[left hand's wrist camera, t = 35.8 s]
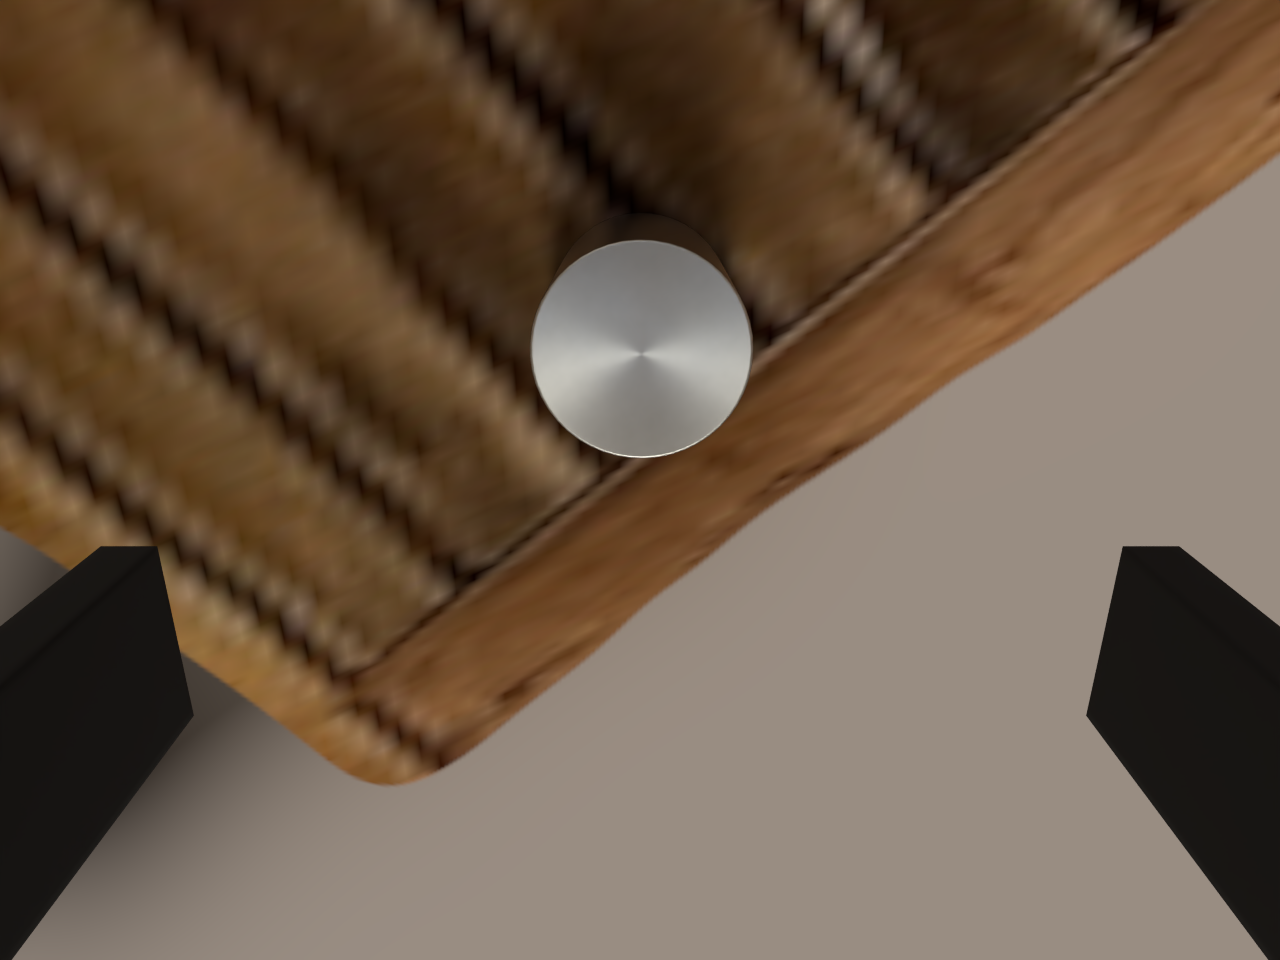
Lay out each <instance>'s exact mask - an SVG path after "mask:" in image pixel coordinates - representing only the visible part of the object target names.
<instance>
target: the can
mask: <svg viewBox="0 0 1280 960" xmlns="http://www.w3.org/2000/svg"><path fill="white" fill-rule="evenodd" d="M530 359H531V367H532V372H533V376H534V379H535V383H536V386H537V388H538V390H539V393H540V395H541V397H542V399H543V401H544V403H545V404H546V406H547V408H548V409H549V411H550V412H551V413H552V414H553V416H554V417H555V418H556V420H557V421H558V422H559V423H560V424H561V425H562V426H563V427H564V428H565V429H566V430H567V431H569V432H570V433H571V434H572V435H574V436H575V437H576V438H578V439H579V440H581V441H583V442H584V443H586V444H588V445H589V446H591V447H594V448H596V449H598V450H601V451H603V452H606V453H610V454H613V455H617V456H623V457H630V458H652V457H660V456H665V455H670V454H673V453H676V452H679V451H682V450H685V449H687V448H689V447H691V446H693V445H695V444H697V443H699V442H700V441H702V440H703V439H705V438H707V437H708V436H710V435H711V434H712V433H713V432H714V431H715V430H717V429H718V428H719V427H720V426H721V425H722V424H723V423H724V422H725V421H726V419H727V418H728V417H729V416H730V415H731V413H732V412H733V410H734V409H735V408H736V406H737V405H738V403H739V401H740V399H741V397H742V395H743V393H744V391H745V388H746V385H747V383H748V380H749V376H750V372H751V367H752V360H753V336H752V330H751V325H750V320H749V317H748V314H747V311H746V308H745V306H744V304H743V302H742V300H741V298H740V296H739V294H738V292H737V290H736V288H735V287H734V285H733V283H732V281H731V280H730V278H729V276H728V274H727V272H726V271H725V269H724V267H723V265H722V263H721V262H720V260H719V258H718V256H717V255H716V253H715V252H714V250H713V249H712V247H711V246H710V245H709V244H708V243H707V242H706V241H705V239H704V238H702V237H701V236H700V235H699V234H698V233H697V232H696V231H694V230H693V229H691V228H690V227H688V226H687V225H685V224H683V223H681V222H679V221H677V220H675V219H672V218H669V217H666V216H663V215H657V214H652V213H632V214H625V215H621V216H616V217H613V218H611V219H608V220H605V221H603V222H601V223H600V224H598V225H596V226H594V227H593V228H591V229H590V230H588V231H587V232H586V233H584V234H583V235H582V236H581V237H580V238H579V239H578V240H577V241H576V242H575V243H574V245H573V246H572V247H571V248H570V250H569V251H568V252H567V254H566V256H565V257H564V259H563V261H562V263H561V265H560V266H559V268H558V270H557V272H556V274H555V276H554V277H553V279H552V281H551V283H550V285H549V287H548V289H547V290H546V292H545V294H544V296H543V298H542V300H541V302H540V304H539V307H538V309H537V312H536V314H535V318H534V321H533V325H532V330H531V338H530Z"/></svg>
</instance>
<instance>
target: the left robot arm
mask: <svg viewBox="0 0 1280 960" xmlns="http://www.w3.org/2000/svg"><path fill="white" fill-rule="evenodd" d="M193 716H194V715H193V710H192V705H191V701H190V696H189V691H188V687H187V682H186V678H185V673H184V668H183V664H182V659H181V654H180V650H179V645H178V641H177V636H176V631H175V627H174V622H173V617H172V613H171V608H170V604H169V599H168V594H167V590H166V585H165V580H164V576H163V571H162V566H161V562H160V557H159V553H158V548H157V546H101V547H99V548H98V549H97V550H96V551H94V552H93V553H92V554H91V555H89V556H88V557H87V558H86V559H84V560H83V561H82V562H81V563H79V564H78V565H77V566H76V567H74V568H73V569H72V570H71V571H69V572H68V573H67V574H66V575H64V576H63V577H62V578H61V579H59V580H58V581H57V582H55V583H54V584H53V585H52V586H51V587H49V588H48V589H47V590H45V591H44V592H43V593H42V594H40V595H39V596H38V597H37V598H35V599H34V600H33V601H32V602H30V603H29V604H28V605H27V606H25V607H24V608H23V609H22V610H20V611H19V612H18V613H17V614H15V615H14V616H13V617H12V618H10V619H9V620H8V621H6V622H5V623H4V624H3V625H2V626H0V960H12V959H13V957H14V956H15V955H16V953H17V952H18V951H19V949H20V948H21V947H22V945H23V944H24V943H25V941H26V940H27V938H28V937H29V936H30V934H31V933H32V932H33V930H34V929H35V928H36V926H37V925H38V924H39V922H40V921H41V920H42V918H43V917H44V916H45V914H46V913H47V912H48V910H49V909H50V908H51V906H52V905H53V904H54V902H55V901H56V900H57V898H58V897H59V896H60V894H61V893H62V892H63V890H64V889H65V888H66V886H67V885H68V884H69V882H70V881H71V880H72V878H73V877H74V876H75V874H76V873H77V871H78V870H79V869H80V867H81V866H82V865H83V863H84V862H85V861H86V859H87V858H88V857H89V855H90V854H91V853H92V851H93V850H94V849H95V847H96V846H97V845H98V843H99V842H100V841H101V839H102V838H103V837H104V835H105V834H106V833H107V831H108V830H109V829H110V827H111V826H112V825H113V823H114V822H115V821H116V819H117V818H118V817H119V815H120V814H121V812H122V811H123V810H124V808H125V807H126V806H127V804H128V803H129V802H130V800H131V799H132V798H133V796H134V795H135V794H136V792H137V791H138V790H139V788H140V787H141V786H142V784H143V783H144V782H145V780H146V779H147V778H148V776H149V775H150V774H151V772H152V771H153V770H154V768H155V767H156V765H157V764H158V763H159V761H160V760H161V759H162V757H163V756H164V755H165V753H166V752H167V751H168V749H169V748H170V747H171V745H172V744H173V743H174V741H175V740H176V739H177V737H178V736H179V735H180V733H181V732H182V731H183V729H184V728H185V727H186V725H187V724H188V723H189V721H190V720H191V719H192V717H193ZM1086 716H1087V717H1088V718H1089V720H1090V721H1091V723H1092V724H1093V725H1094V727H1095V728H1096V729H1097V731H1098V732H1099V733H1100V735H1101V736H1102V737H1103V739H1104V740H1105V741H1106V743H1107V744H1108V745H1109V747H1110V748H1111V749H1112V751H1113V752H1114V753H1115V755H1116V756H1117V757H1118V759H1119V760H1120V761H1121V763H1122V764H1123V766H1124V767H1125V768H1126V770H1127V771H1128V772H1129V774H1130V775H1131V776H1132V778H1133V779H1134V780H1135V782H1136V783H1137V784H1138V786H1139V787H1140V788H1141V790H1142V791H1143V792H1144V794H1145V795H1146V796H1147V798H1148V799H1149V800H1150V802H1151V803H1152V804H1153V806H1154V807H1155V808H1156V810H1157V811H1158V812H1159V814H1160V815H1161V816H1162V818H1163V819H1164V821H1165V822H1166V823H1167V825H1168V826H1169V827H1170V829H1171V830H1172V831H1173V833H1174V834H1175V835H1176V837H1177V838H1178V839H1179V841H1180V842H1181V843H1182V845H1183V846H1184V847H1185V849H1186V850H1187V851H1188V853H1189V854H1190V855H1191V857H1192V858H1193V859H1194V861H1195V862H1196V863H1197V865H1198V866H1199V867H1200V869H1201V870H1202V871H1203V873H1204V874H1205V876H1206V877H1207V878H1208V880H1209V881H1210V882H1211V884H1212V885H1213V886H1214V888H1215V889H1216V890H1217V892H1218V893H1219V894H1220V896H1221V897H1222V898H1223V900H1224V901H1225V902H1226V904H1227V905H1228V906H1229V908H1230V909H1231V910H1232V912H1233V913H1234V914H1235V916H1236V917H1237V918H1238V920H1239V921H1240V922H1241V924H1242V925H1243V926H1244V928H1245V929H1246V930H1247V932H1248V933H1249V934H1250V936H1251V937H1252V939H1253V940H1254V941H1255V943H1256V944H1257V945H1258V947H1259V948H1260V949H1261V951H1262V952H1263V953H1264V955H1265V956H1266V957H1267V959H1268V960H1280V626H1279V625H1277V624H1276V623H1275V622H1273V621H1272V620H1271V619H1270V618H1269V617H1267V616H1266V615H1265V614H1263V613H1262V612H1261V611H1260V610H1258V609H1257V608H1256V607H1255V606H1253V605H1252V604H1251V603H1250V602H1248V601H1247V600H1246V599H1245V598H1243V597H1242V596H1241V595H1239V594H1238V593H1237V592H1236V591H1235V590H1233V589H1232V588H1231V587H1230V586H1228V585H1227V584H1226V583H1225V582H1223V581H1222V580H1221V579H1219V578H1218V577H1217V576H1216V575H1214V574H1213V573H1212V572H1211V571H1209V570H1208V569H1207V568H1206V567H1204V566H1203V565H1202V564H1201V563H1199V562H1198V561H1197V560H1196V559H1194V558H1193V557H1192V556H1191V555H1189V554H1188V553H1187V552H1186V551H1184V550H1183V549H1182V548H1181V547H1179V546H1123V548H1122V553H1121V557H1120V562H1119V567H1118V571H1117V576H1116V580H1115V585H1114V590H1113V594H1112V599H1111V604H1110V608H1109V613H1108V617H1107V622H1106V627H1105V631H1104V636H1103V641H1102V645H1101V650H1100V655H1099V659H1098V664H1097V669H1096V673H1095V678H1094V682H1093V687H1092V691H1091V696H1090V701H1089V705H1088V710H1087V715H1086Z"/></svg>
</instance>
